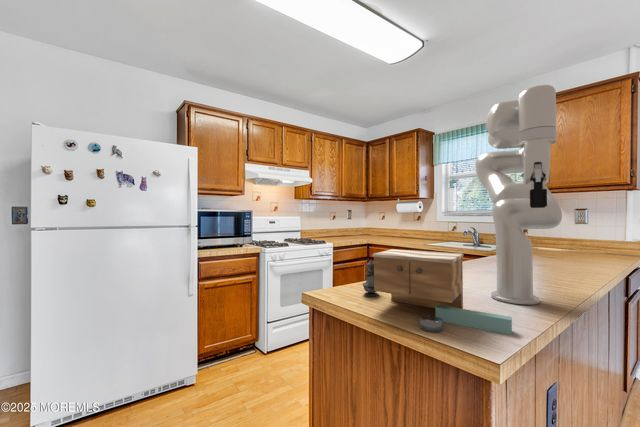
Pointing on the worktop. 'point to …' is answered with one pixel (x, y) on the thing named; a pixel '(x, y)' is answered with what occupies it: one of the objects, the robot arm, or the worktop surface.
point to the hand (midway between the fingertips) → (538, 207)
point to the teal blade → (475, 319)
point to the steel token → (431, 324)
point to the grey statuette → (370, 281)
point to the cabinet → (420, 277)
